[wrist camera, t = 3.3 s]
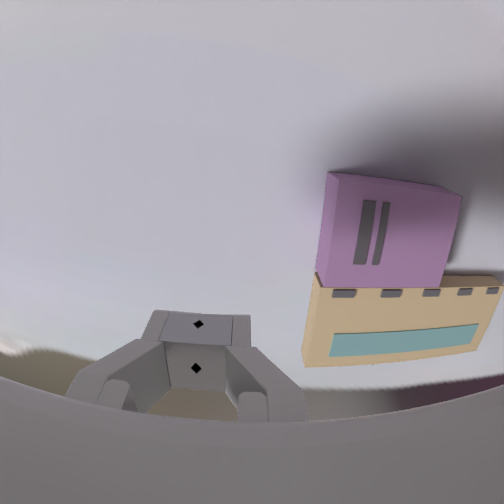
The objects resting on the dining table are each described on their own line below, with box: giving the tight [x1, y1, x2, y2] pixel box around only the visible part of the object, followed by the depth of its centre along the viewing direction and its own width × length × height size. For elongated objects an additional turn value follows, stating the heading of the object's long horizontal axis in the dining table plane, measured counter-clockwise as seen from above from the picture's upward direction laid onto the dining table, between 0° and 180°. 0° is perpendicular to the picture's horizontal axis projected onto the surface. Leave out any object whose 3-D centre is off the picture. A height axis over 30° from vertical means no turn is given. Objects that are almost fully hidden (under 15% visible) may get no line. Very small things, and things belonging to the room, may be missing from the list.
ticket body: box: [301, 273, 504, 367], centre depth 20 cm, size 6×16×2 cm, turn 87°
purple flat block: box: [316, 172, 462, 288], centre depth 17 cm, size 6×8×2 cm
